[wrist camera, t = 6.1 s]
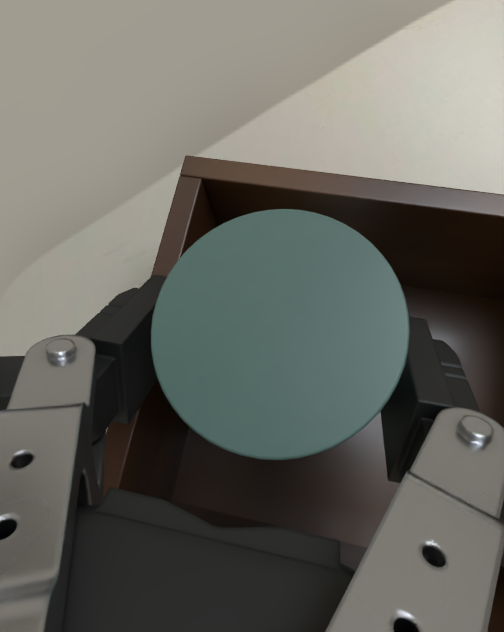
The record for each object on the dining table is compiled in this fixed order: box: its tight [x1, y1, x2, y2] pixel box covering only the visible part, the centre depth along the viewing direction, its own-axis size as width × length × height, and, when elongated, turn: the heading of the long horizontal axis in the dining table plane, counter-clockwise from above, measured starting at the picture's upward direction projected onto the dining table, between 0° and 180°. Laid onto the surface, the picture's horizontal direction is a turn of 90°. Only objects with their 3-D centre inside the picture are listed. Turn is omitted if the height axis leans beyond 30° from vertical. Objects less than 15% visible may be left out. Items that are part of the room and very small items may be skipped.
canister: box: [151, 209, 410, 460], centre depth 13 cm, size 5×5×10 cm
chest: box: [103, 156, 504, 632], centre depth 15 cm, size 15×13×7 cm
